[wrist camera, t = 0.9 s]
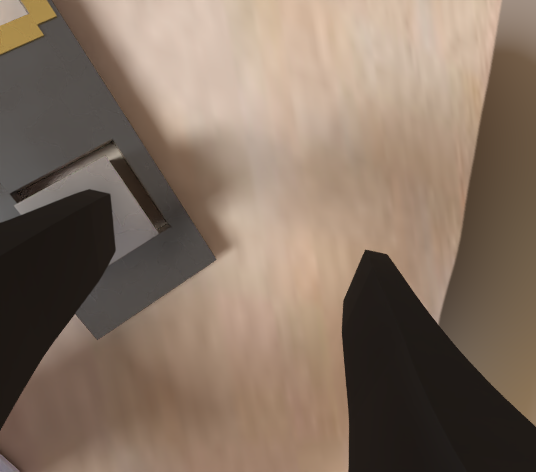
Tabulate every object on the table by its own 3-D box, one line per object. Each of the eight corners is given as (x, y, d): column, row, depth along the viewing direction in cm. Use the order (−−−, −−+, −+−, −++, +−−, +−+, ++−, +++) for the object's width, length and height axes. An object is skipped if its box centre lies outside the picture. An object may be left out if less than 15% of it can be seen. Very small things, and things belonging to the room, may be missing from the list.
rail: (98, 329, 22) (97, 340, 20) (-283, -130, 14) (-332, -168, 13) (210, 254, 24) (216, 260, 22) (-72, -186, 16) (-92, -225, 15)
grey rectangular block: (87, 256, 21) (77, 284, 16) (41, 197, 20) (13, 205, 14) (148, 219, 22) (158, 233, 17) (108, 160, 21) (105, 155, 15)
